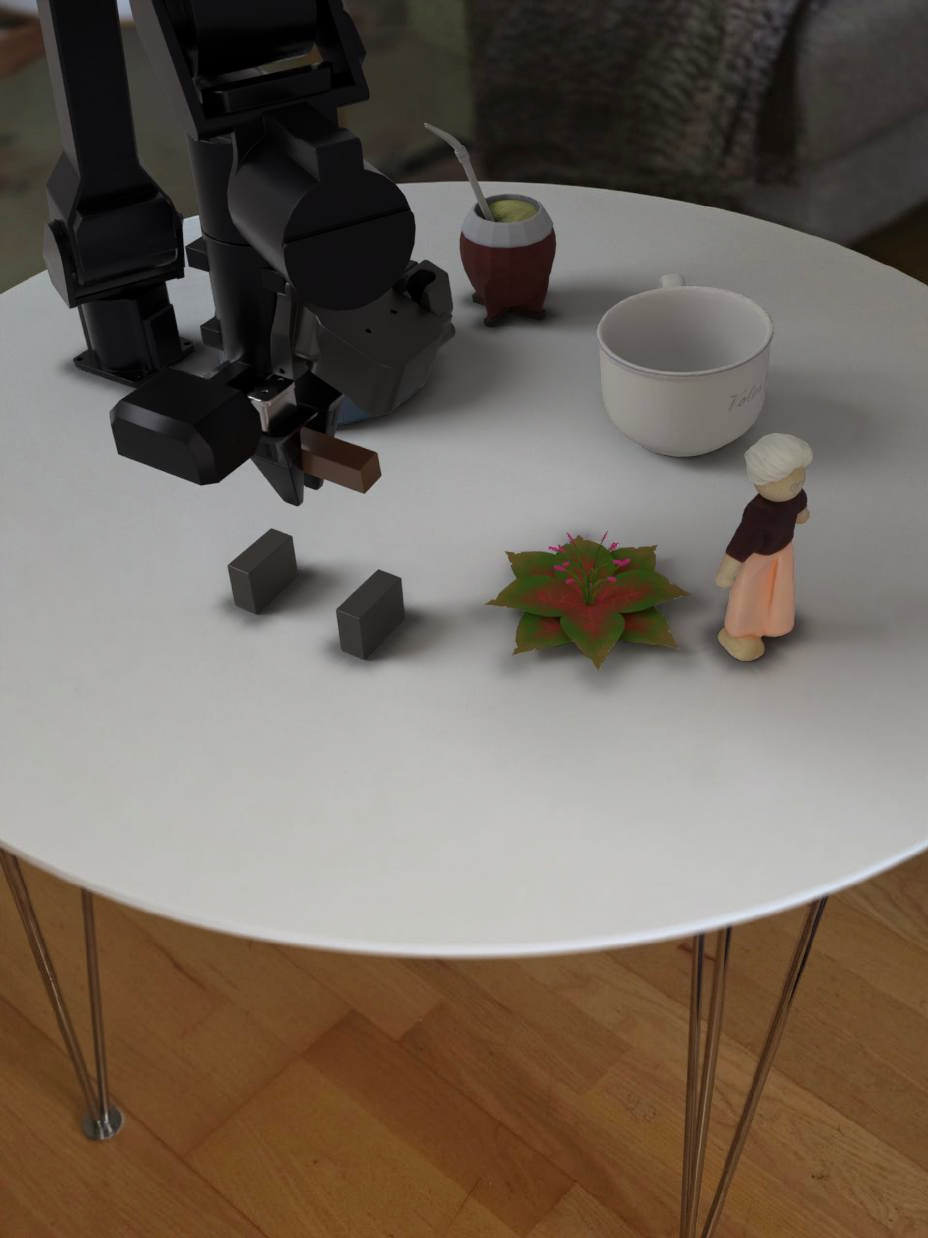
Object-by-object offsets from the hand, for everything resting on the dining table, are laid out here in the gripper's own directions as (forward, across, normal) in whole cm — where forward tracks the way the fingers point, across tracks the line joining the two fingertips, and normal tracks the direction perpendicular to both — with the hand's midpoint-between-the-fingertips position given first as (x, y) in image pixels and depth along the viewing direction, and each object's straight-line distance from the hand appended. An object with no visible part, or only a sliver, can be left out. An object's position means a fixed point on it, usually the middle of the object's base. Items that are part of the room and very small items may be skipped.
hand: (303, 495), depth 73 cm
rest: (+8, 0, 0) cm, 8 cm away
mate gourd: (+8, +35, +9) cm, 37 cm away
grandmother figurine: (+8, +11, -22) cm, 26 cm away
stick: (-2, 0, 0) cm, 2 cm away
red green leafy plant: (+8, +8, -13) cm, 17 cm away
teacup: (+8, +28, -9) cm, 30 cm away
